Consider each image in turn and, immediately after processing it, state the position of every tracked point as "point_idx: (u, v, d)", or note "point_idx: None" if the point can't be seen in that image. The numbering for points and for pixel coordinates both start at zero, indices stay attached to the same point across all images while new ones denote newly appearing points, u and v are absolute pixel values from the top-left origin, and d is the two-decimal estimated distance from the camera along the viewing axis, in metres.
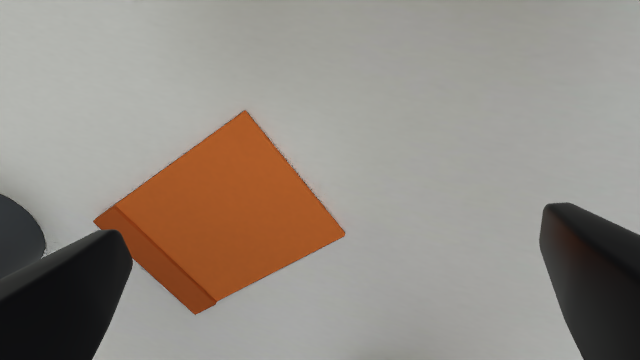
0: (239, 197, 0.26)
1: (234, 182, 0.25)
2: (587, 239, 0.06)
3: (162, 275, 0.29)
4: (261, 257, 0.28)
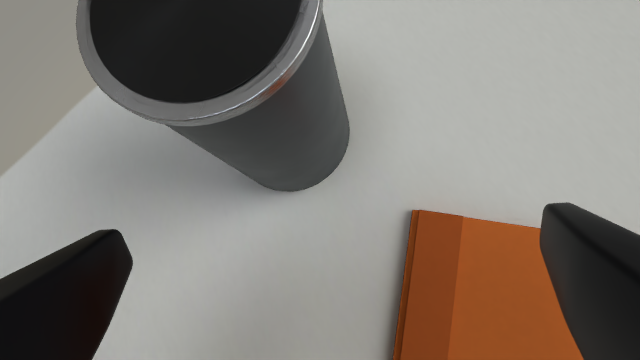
0: None
1: None
2: (587, 239, 0.06)
3: (419, 330, 0.20)
4: None
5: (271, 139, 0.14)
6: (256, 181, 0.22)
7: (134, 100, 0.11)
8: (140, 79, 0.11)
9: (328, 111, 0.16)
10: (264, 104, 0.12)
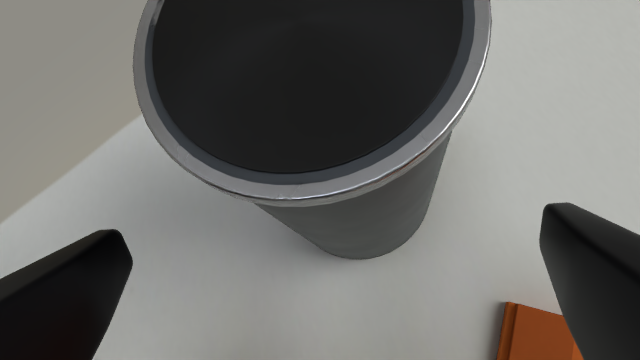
0: None
1: None
2: (587, 239, 0.06)
3: None
4: None
5: (368, 218, 0.10)
6: None
7: (202, 162, 0.08)
8: (213, 132, 0.08)
9: (434, 180, 0.12)
10: None
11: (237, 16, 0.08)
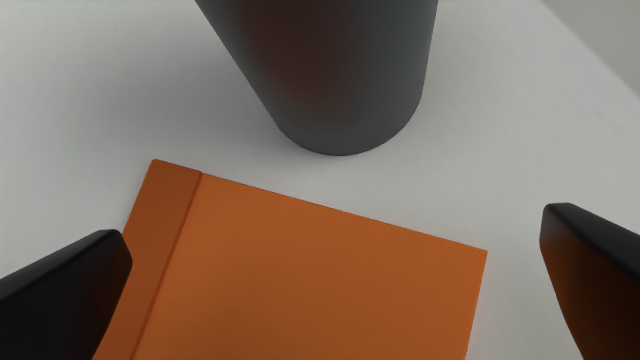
0: (350, 331, 0.15)
1: (369, 306, 0.15)
2: (587, 239, 0.06)
3: None
4: None
5: (345, 0, 0.08)
6: (290, 133, 0.16)
7: None
8: None
9: None
10: None
11: None
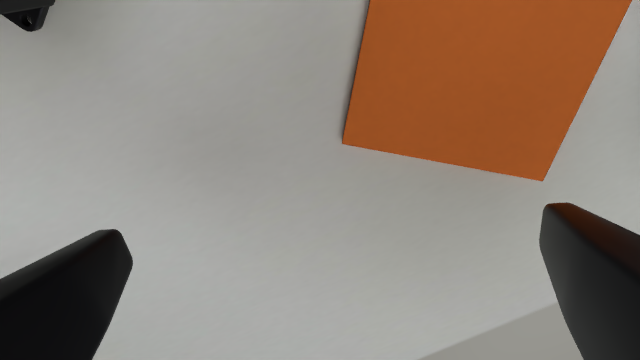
0: (488, 88, 0.18)
1: (507, 101, 0.18)
2: (587, 239, 0.06)
3: None
4: (401, 26, 0.17)
5: None
6: None
7: None
8: None
9: None
10: None
11: None
